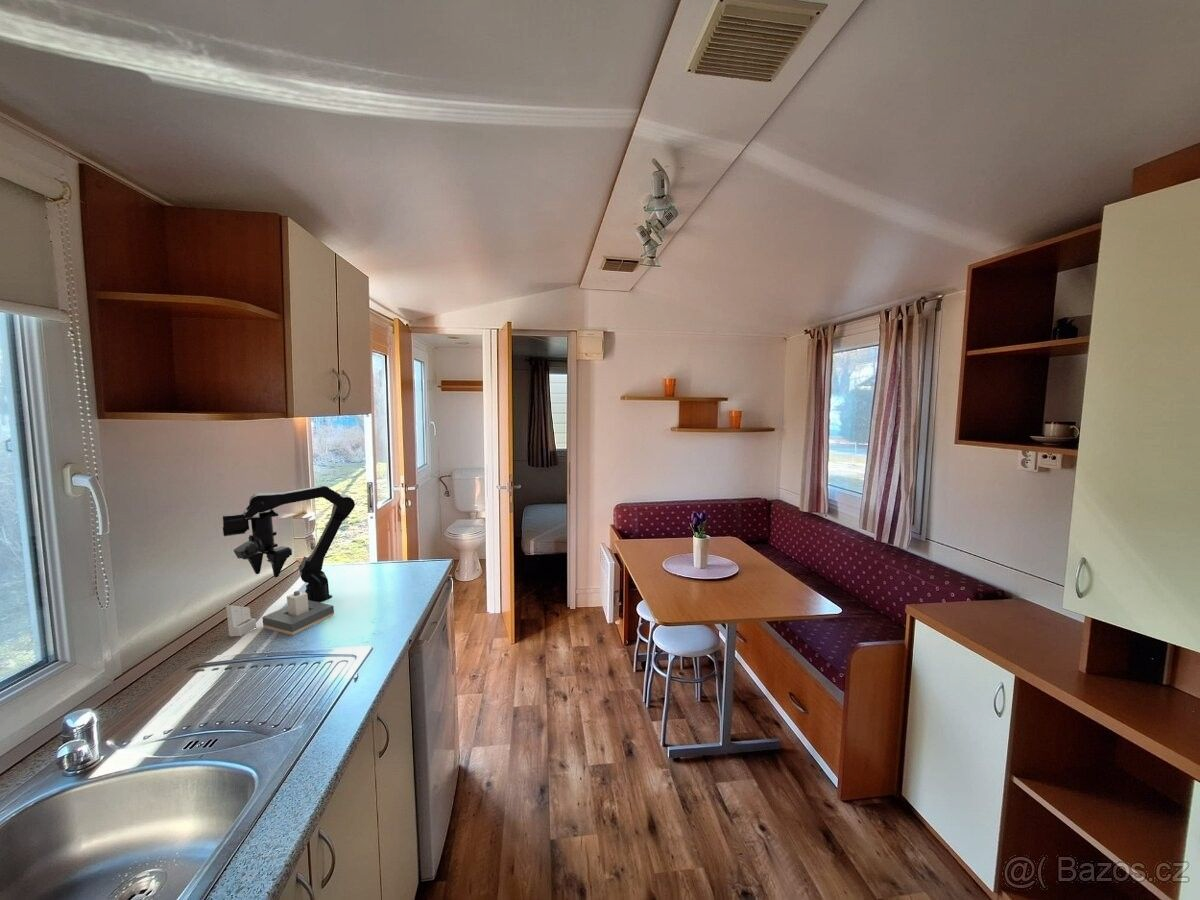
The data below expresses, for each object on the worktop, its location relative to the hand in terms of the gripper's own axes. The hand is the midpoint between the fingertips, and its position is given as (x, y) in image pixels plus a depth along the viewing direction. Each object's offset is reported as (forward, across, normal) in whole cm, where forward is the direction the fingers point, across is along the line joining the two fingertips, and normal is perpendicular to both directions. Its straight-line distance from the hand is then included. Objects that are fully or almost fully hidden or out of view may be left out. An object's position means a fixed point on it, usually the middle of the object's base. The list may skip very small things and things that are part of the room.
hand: (267, 575), depth 159 cm
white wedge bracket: (+13, +7, -13) cm, 19 cm away
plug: (+12, +17, -2) cm, 21 cm away
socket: (+12, +17, -2) cm, 21 cm away
